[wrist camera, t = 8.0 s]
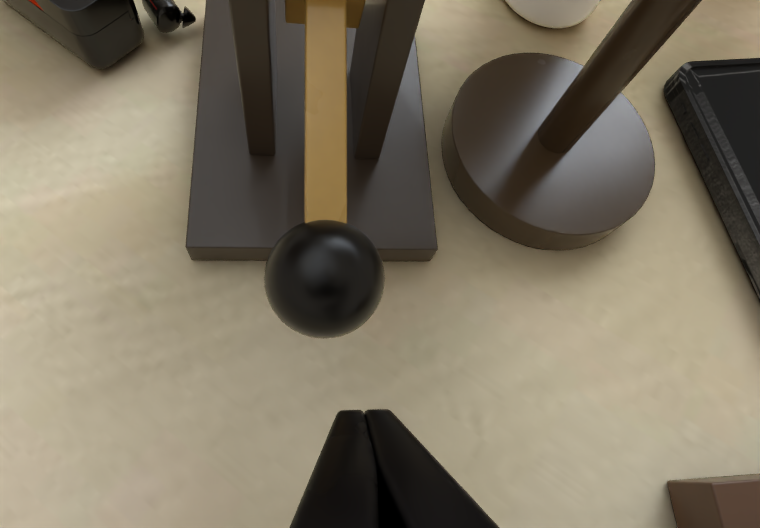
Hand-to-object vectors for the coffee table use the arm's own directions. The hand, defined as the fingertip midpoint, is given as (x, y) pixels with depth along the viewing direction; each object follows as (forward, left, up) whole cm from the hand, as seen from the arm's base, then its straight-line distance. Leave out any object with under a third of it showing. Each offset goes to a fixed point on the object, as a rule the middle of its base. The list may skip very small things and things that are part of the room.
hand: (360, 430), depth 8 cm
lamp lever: (+9, 0, -5) cm, 10 cm away
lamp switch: (+13, 0, -10) cm, 16 cm away
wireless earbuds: (+18, +9, -10) cm, 22 cm away
